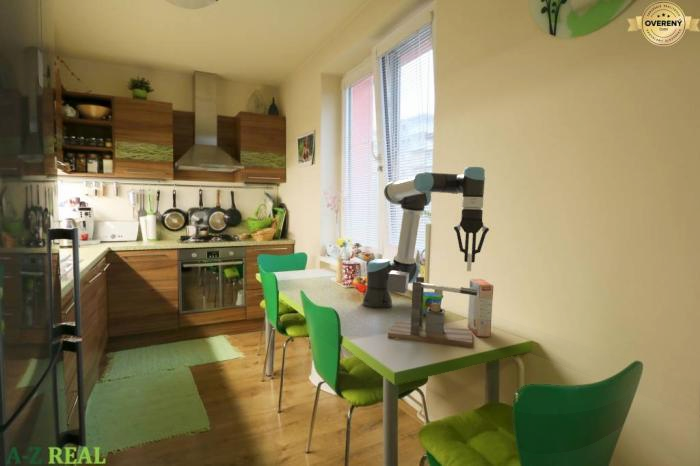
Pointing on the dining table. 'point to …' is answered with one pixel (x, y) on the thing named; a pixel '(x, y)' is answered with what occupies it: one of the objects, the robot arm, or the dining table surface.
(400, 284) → the lever
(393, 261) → the robot arm
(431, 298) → the snack cup
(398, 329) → the press base
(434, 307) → the tan ball
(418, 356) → the dining table surface
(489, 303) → the cracker box
